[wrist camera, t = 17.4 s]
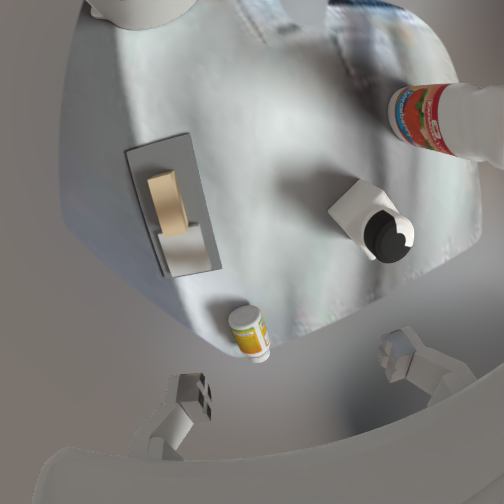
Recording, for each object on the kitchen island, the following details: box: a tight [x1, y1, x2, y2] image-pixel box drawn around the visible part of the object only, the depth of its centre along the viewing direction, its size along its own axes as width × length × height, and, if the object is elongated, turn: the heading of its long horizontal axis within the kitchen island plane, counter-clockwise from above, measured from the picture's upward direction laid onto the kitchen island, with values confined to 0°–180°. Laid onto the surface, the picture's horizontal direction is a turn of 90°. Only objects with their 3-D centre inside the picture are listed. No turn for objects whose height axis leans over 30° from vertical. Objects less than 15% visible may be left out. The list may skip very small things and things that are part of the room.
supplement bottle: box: [228, 305, 270, 363], centre depth 45 cm, size 5×5×10 cm
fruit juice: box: [388, 83, 504, 171], centre depth 20 cm, size 9×9×28 cm
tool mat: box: [126, 134, 222, 279], centre depth 37 cm, size 20×9×1 cm, turn 10°
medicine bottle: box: [328, 179, 414, 263], centre depth 34 cm, size 7×7×12 cm
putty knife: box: [148, 170, 211, 277], centre depth 36 cm, size 15×6×3 cm, turn 10°
